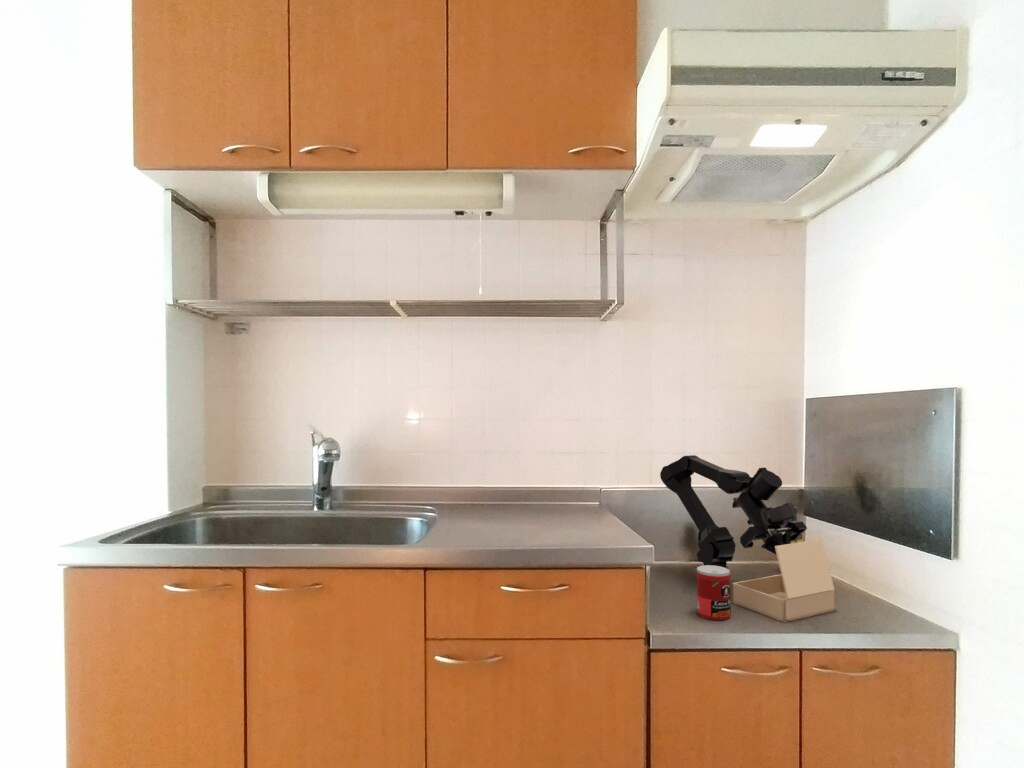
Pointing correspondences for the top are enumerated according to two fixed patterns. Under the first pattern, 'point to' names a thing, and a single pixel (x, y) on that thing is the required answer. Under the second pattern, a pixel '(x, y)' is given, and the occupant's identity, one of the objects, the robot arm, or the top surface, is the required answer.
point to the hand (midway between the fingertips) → (794, 562)
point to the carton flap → (804, 568)
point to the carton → (780, 599)
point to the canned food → (713, 592)
